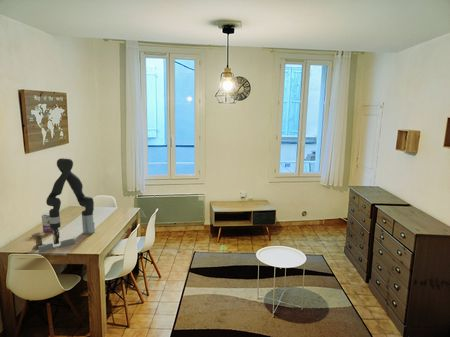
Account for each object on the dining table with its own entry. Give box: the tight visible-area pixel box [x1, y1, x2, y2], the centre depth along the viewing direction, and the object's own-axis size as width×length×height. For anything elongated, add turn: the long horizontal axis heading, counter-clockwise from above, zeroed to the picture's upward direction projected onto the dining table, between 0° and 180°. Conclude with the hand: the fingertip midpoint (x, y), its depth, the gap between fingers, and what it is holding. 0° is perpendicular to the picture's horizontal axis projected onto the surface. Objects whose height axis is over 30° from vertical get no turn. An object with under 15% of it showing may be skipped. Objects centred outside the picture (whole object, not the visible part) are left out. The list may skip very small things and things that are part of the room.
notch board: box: [37, 237, 75, 253], centre depth 260 cm, size 26×2×4 cm, turn 130°
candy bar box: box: [41, 213, 53, 233], centre depth 292 cm, size 11×5×16 cm, turn 99°
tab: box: [52, 233, 60, 245], centre depth 259 cm, size 4×4×8 cm
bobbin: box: [31, 231, 46, 251], centre depth 259 cm, size 9×9×11 cm
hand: (56, 241), depth 260 cm, fingers closed on tab, 4 cm apart
